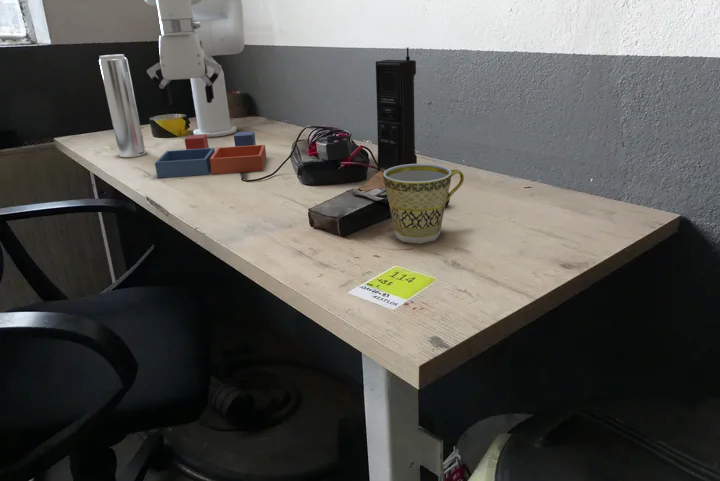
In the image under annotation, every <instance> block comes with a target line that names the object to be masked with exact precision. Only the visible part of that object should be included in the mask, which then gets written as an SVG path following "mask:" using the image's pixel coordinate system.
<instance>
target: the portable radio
mask: <svg viewBox="0 0 720 481" xmlns="http://www.w3.org/2000/svg"><path fill="white" fill-rule="evenodd" d="M409 49H410V48H409V47H406V56H405V59H383V60H376V61H375V87H376V89H375V91H376V92H375V93H376V120H377V121H376V122H377V124H376V126H377V128H376V129H377V172H379V171H380V168H382V169H384V170H387V169H389V168H392V167H395V166H400V165H407V164H418V156H417V154H416V145H415V144H416V139H415V138H416V137H415V136H416V135H415V133H416V131H415V76H416V74H417V61H416V60H415V59H410V58H411V56H409V55H410V52H409Z"/></svg>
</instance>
